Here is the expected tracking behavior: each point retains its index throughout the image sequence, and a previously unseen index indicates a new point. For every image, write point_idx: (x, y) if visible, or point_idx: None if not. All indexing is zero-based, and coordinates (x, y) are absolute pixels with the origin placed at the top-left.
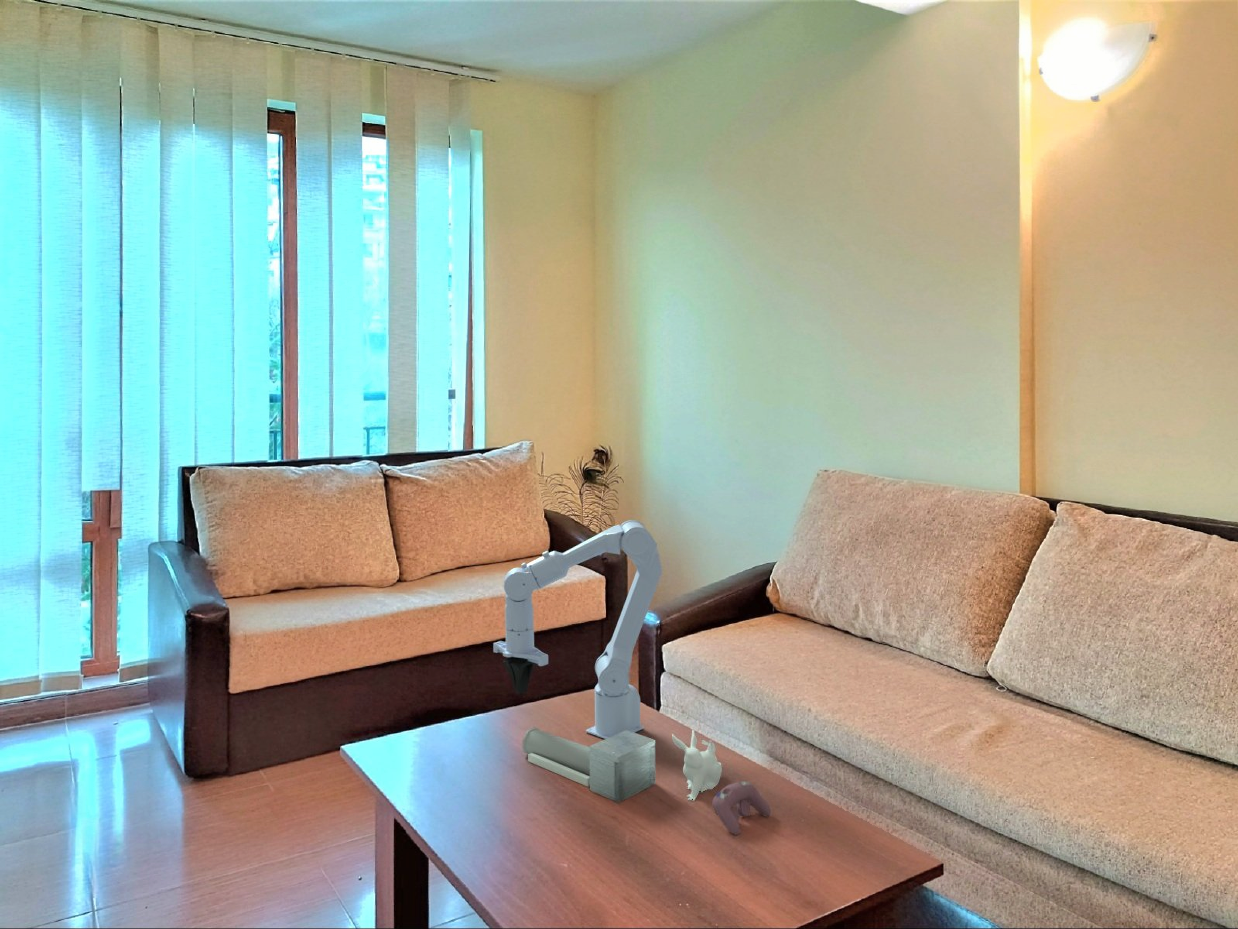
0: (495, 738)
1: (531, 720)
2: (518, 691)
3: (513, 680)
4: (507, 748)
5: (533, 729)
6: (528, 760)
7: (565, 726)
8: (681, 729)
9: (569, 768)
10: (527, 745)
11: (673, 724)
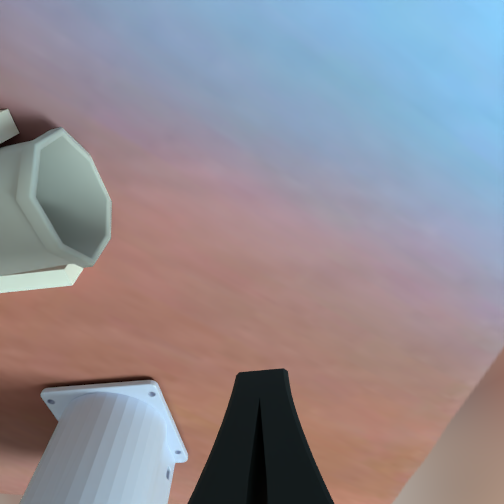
0: (335, 135)
1: (368, 325)
2: (239, 389)
3: (282, 467)
4: (197, 116)
5: (33, 231)
6: (1, 110)
7: (241, 365)
8: None
9: None
10: (19, 149)
11: None
